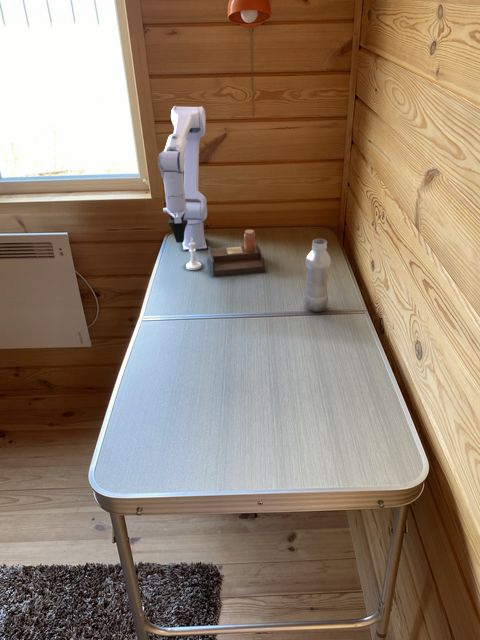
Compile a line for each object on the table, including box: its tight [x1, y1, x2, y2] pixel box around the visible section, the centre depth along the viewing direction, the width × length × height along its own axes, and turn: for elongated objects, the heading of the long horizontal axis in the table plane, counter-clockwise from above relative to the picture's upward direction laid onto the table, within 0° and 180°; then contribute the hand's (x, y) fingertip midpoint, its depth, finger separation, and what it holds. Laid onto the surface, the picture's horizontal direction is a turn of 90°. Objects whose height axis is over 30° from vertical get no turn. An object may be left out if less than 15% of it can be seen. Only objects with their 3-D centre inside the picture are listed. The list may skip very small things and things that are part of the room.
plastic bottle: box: [303, 238, 332, 313], centre depth 138 cm, size 6×7×20 cm
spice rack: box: [207, 241, 265, 277], centre depth 165 cm, size 12×16×5 cm
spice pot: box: [243, 229, 256, 252], centre depth 165 cm, size 4×4×6 cm
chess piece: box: [185, 237, 202, 271], centre depth 163 cm, size 5×5×10 cm
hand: (179, 237), depth 159 cm, fingers open, 7 cm apart
